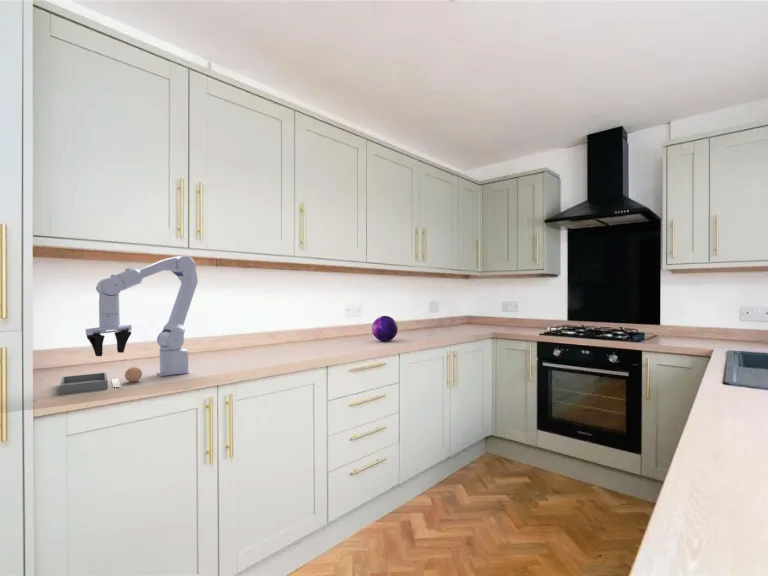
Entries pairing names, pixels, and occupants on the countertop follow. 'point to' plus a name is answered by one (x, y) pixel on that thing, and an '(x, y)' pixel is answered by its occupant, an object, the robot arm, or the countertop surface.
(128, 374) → the ball
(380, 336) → the decorative orb
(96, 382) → the tray
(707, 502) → the countertop surface
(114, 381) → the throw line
